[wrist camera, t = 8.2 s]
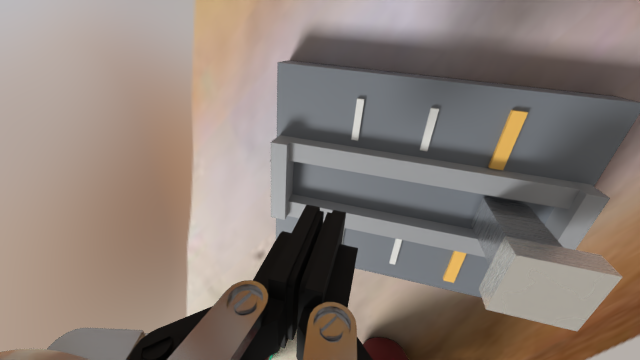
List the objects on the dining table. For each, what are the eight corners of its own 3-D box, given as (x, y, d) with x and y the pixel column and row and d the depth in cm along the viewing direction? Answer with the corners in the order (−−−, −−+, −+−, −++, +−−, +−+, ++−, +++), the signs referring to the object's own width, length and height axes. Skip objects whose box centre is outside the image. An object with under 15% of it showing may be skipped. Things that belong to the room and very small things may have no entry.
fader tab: (475, 186, 16) (515, 255, 11) (544, 197, 15) (622, 277, 10) (458, 230, 17) (485, 309, 12) (520, 242, 17) (577, 331, 12)
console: (289, 60, 17) (267, 63, 14) (615, 96, 14) (675, 110, 11) (284, 234, 24) (268, 262, 21) (507, 284, 21) (528, 325, 18)
